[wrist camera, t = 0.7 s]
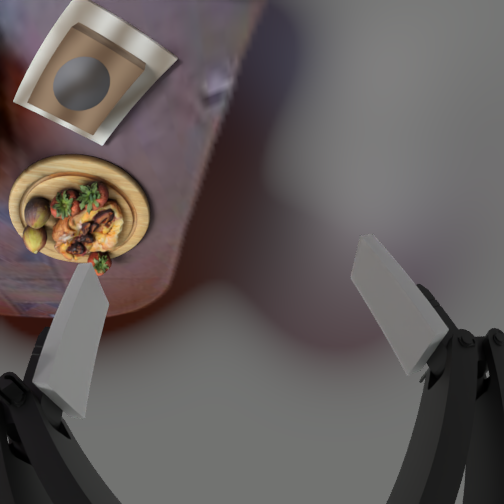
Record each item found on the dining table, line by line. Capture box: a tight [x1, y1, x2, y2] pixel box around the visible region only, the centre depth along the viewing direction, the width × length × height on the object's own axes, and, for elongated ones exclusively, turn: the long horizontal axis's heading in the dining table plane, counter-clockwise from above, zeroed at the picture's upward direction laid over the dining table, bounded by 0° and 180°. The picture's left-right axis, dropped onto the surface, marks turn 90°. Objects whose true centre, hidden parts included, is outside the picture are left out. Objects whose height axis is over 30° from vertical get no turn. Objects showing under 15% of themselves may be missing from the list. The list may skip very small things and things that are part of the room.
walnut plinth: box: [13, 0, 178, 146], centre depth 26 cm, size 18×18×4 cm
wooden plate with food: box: [9, 154, 150, 276], centre depth 47 cm, size 32×32×8 cm
